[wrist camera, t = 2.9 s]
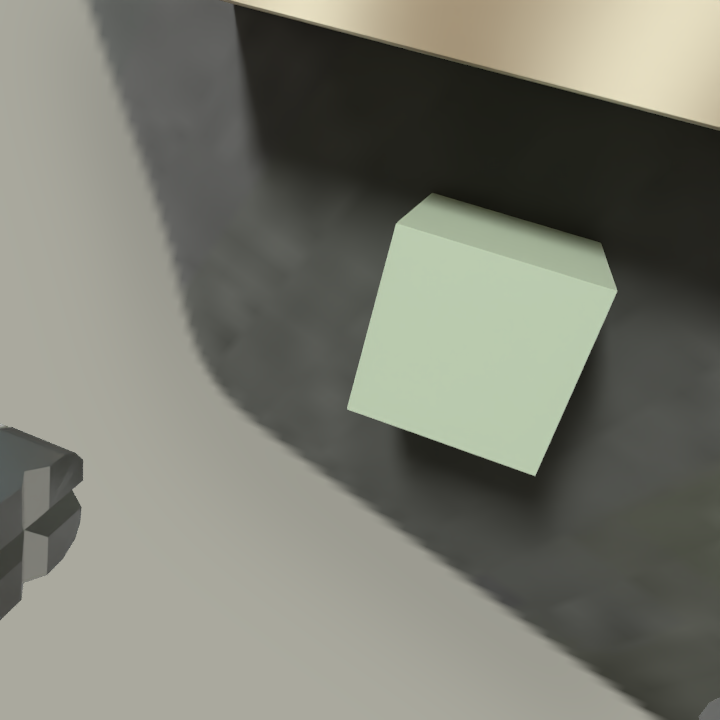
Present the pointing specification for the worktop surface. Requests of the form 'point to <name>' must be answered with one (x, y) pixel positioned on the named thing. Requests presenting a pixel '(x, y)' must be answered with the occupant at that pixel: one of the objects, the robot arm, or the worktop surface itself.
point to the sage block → (481, 330)
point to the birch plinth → (552, 43)
